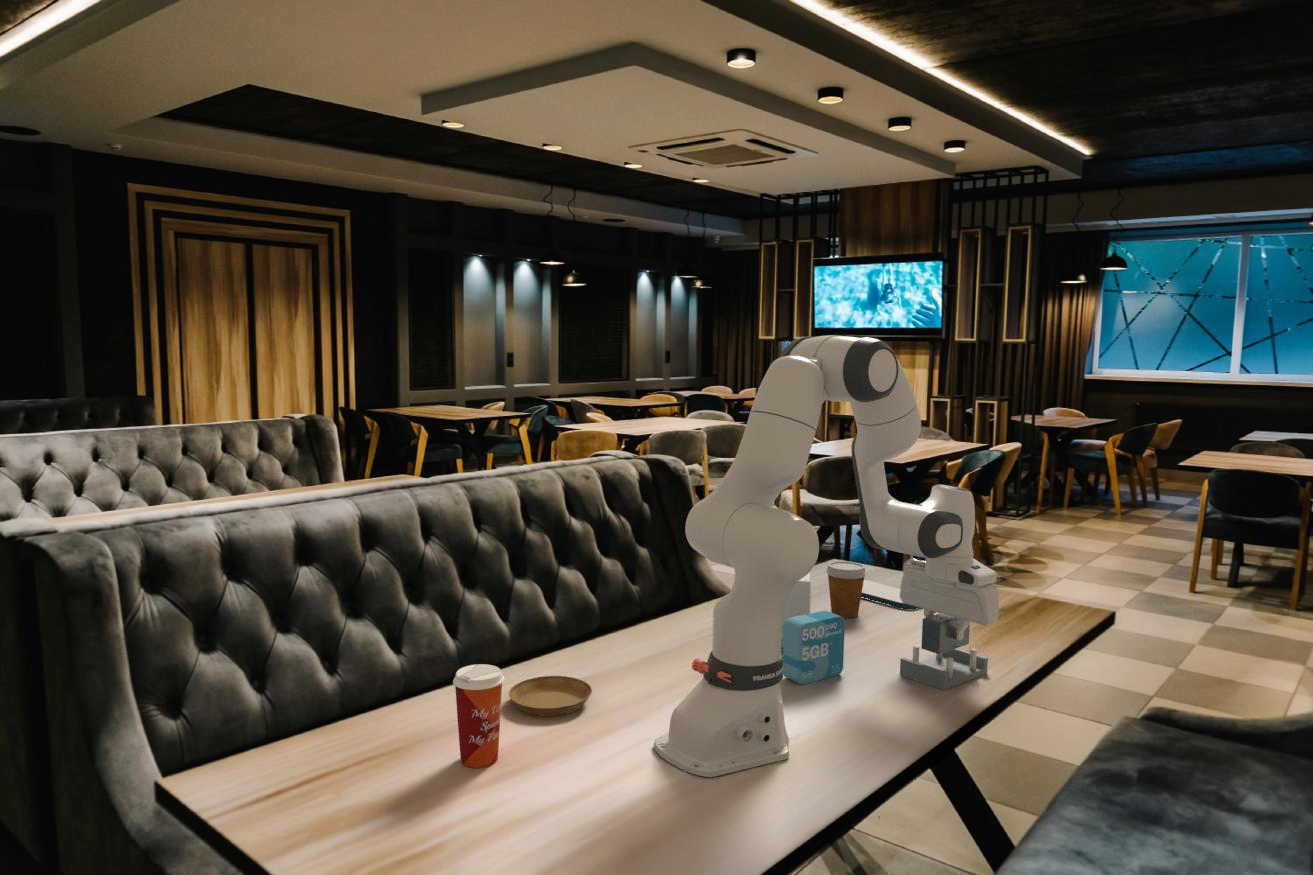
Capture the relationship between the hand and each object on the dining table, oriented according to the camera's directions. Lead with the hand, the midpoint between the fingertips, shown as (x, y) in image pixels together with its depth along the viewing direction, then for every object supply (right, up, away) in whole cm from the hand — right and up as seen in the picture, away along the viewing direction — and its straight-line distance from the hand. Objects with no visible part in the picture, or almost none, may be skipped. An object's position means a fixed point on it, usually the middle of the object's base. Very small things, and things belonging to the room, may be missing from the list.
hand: (945, 635), depth 173 cm
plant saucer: (-76, -9, -16) cm, 78 cm away
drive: (0, -2, 0) cm, 2 cm away
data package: (-26, -8, -1) cm, 28 cm away
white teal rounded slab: (+2, -3, +55) cm, 55 cm away
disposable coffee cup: (-11, -4, +39) cm, 41 cm away
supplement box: (-28, -6, +19) cm, 34 cm away
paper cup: (-84, -11, -38) cm, 93 cm away
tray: (0, -8, +1) cm, 8 cm away
